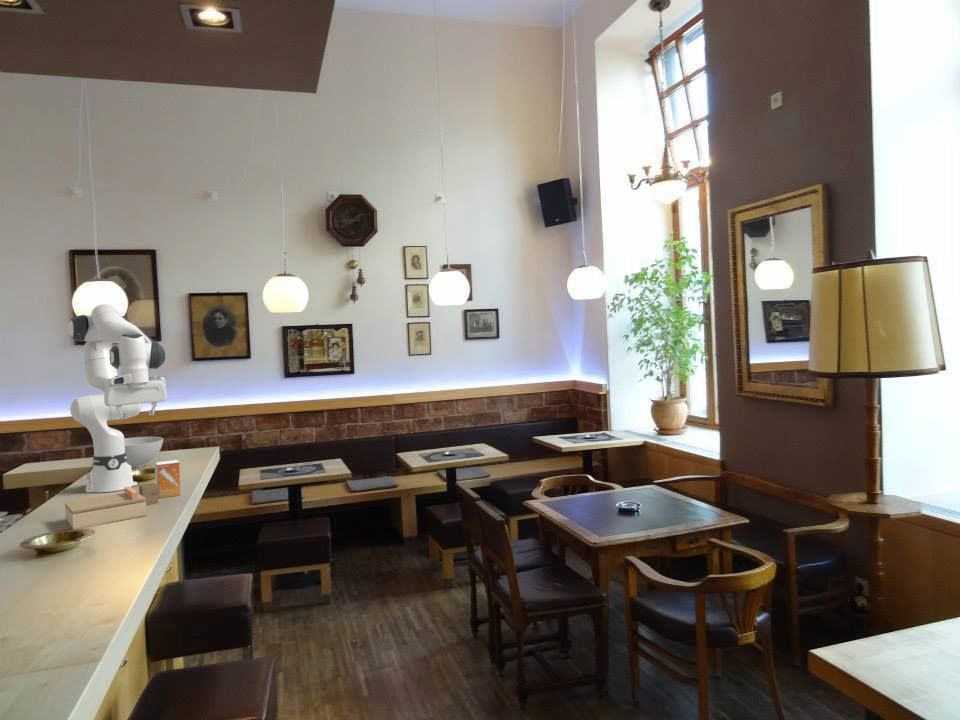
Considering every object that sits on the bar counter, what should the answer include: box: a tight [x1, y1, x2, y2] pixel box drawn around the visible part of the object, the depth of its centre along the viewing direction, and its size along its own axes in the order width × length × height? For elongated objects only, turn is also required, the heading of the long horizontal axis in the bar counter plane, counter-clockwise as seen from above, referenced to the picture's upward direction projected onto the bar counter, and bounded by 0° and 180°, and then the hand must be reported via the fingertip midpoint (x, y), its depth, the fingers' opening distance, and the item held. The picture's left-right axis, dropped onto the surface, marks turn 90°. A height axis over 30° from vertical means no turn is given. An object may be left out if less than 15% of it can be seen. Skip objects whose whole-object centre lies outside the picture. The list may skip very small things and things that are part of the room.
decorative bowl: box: [124, 436, 164, 469], centre depth 323 cm, size 27×27×12 cm
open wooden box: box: [64, 501, 148, 530], centre depth 232 cm, size 15×22×5 cm
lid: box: [64, 486, 146, 514], centre depth 232 cm, size 15×22×3 cm
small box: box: [154, 459, 182, 499], centre depth 262 cm, size 8×6×13 cm
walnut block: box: [138, 482, 159, 506], centre depth 250 cm, size 5×5×7 cm
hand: (137, 416), depth 244 cm, fingers open, 8 cm apart
